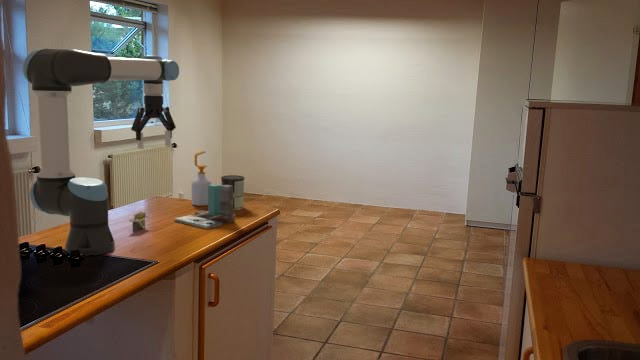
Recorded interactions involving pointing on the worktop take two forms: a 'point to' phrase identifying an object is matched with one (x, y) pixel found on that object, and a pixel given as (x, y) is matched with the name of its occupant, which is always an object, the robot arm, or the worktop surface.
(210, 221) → the plate
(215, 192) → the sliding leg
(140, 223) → the potted plant
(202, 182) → the soap bottle
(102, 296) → the worktop surface
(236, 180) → the coffee can
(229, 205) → the grey l-shaped piece
